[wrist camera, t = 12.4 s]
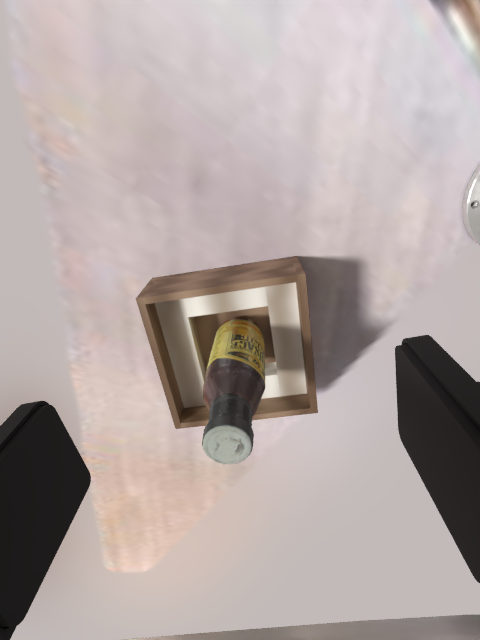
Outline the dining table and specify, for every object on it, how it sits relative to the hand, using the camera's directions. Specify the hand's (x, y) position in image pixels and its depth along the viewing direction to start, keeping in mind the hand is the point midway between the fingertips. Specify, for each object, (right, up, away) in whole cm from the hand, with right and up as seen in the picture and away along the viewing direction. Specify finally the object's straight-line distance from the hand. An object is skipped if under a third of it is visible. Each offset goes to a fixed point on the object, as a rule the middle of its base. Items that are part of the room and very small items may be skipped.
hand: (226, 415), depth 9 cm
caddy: (0, +1, +37) cm, 37 cm away
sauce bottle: (0, +1, +36) cm, 36 cm away
